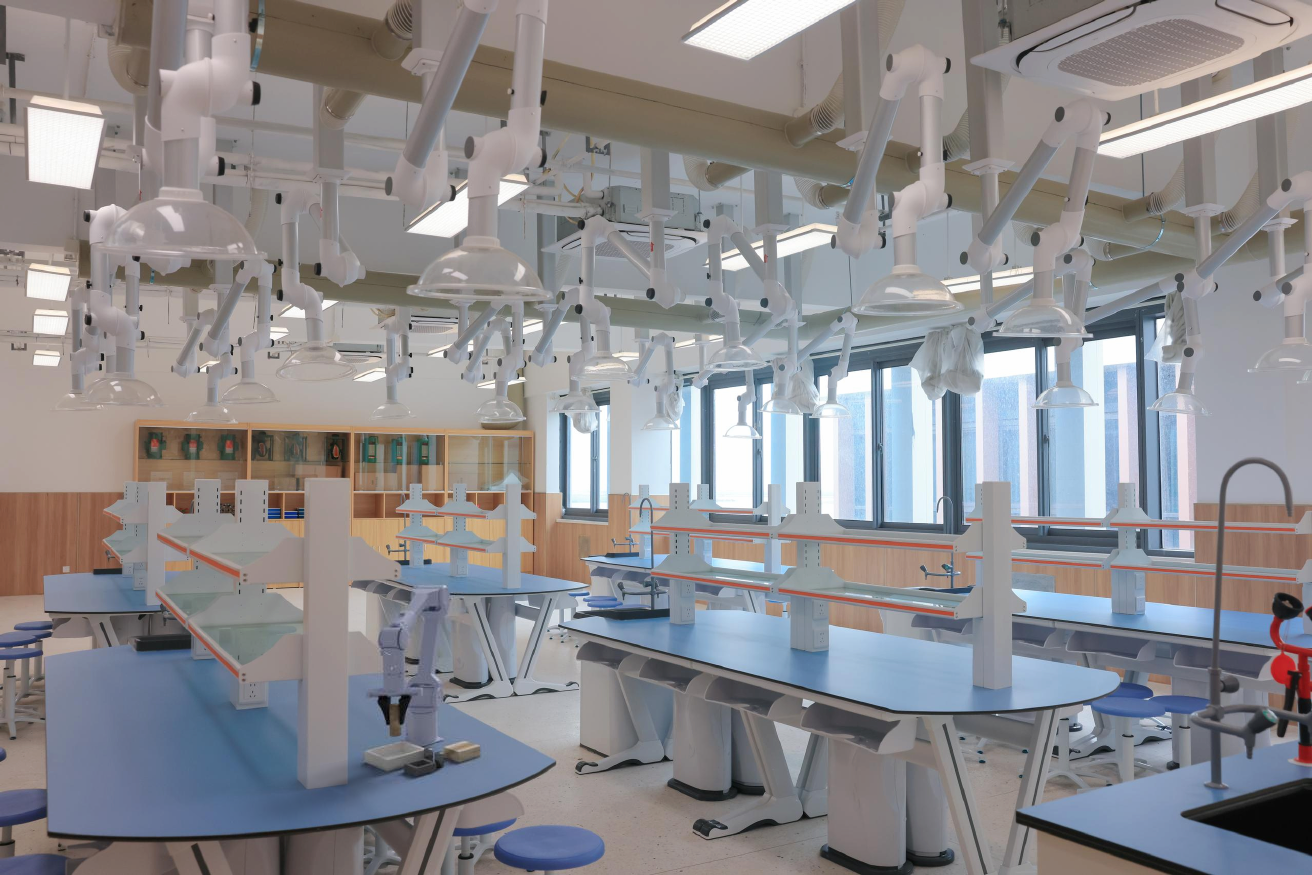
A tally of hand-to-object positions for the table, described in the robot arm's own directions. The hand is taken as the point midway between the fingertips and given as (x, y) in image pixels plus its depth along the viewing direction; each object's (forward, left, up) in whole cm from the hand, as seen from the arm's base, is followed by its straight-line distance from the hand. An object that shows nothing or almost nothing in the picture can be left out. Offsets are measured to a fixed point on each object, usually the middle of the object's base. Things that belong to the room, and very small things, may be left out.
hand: (395, 723), depth 252 cm
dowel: (0, 0, -3) cm, 3 cm away
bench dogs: (+10, +5, -10) cm, 15 cm away
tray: (0, 0, -10) cm, 10 cm away
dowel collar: (+12, 0, -10) cm, 16 cm away
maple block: (+10, +14, -10) cm, 20 cm away
